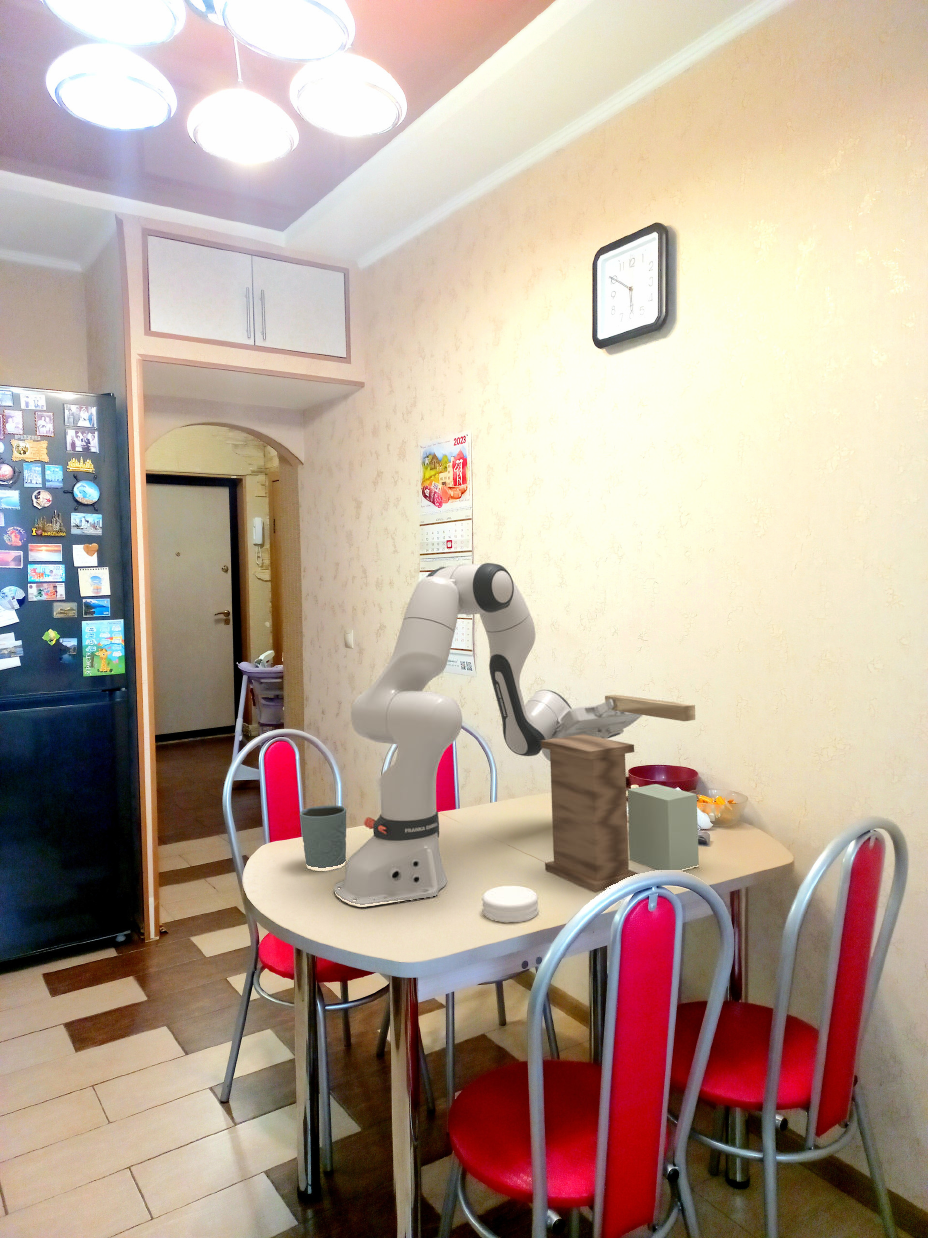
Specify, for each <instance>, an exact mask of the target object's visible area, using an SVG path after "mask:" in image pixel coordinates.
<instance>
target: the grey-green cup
mask: <svg viewBox="0 0 928 1238" xmlns="http://www.w3.org/2000/svg"><path fill="white" fill-rule="evenodd" d="M299 817H300V827H301V835H302V836H301V837H302V842H303V851H304V857H305V865H306V864H307V865H308V866H311V867H318V868H326V867H333V866H338V865H341V864H343V863H344V862H345V861H346V862H347V857H346V856H347V855H346V854H347V808H346V807H345V806H343V805H342V806H341V805H333V804H332V805H331V804H330V805H320V806H317V805H316V806H312V807H309V808H304V809H302V810H301V811H300V812H299Z"/></svg>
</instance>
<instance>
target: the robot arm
mask: <svg viewBox="0 0 928 1238" xmlns="http://www.w3.org/2000/svg"><path fill="white" fill-rule="evenodd" d="M478 614H479V617H480V620H481V623H482V626H483V628H484V630H485V633H486V636H487V640H488V642H487V643H488V645H489V647H488V648H489V664H488V667H489V668H488V669H489V675H490V679H491V684H492V688H493V690H494V691H493V692H494V695H495V698H496V699H495V700H496V702H497V706H498V709H499V713H500V718H501V722H502V734H503V739H504V742H505V744H506V746H507V747H508V749H509V750H510V752H513V753H514V754H516V755H518V756H523V757H534V756H537V755H539V754H540V753H541V752H542V755H543V756H544V758H545V759H546V760H548V761H549V762H550V750H548V749H544V748H541V740H548V739H555V738H562V737H569V736H576V735H588V736H593V737H598V738H603V739H608V740H609V739H610V738H613V737H617V736H619V735H621V734H623V733H624V729H626V728H628V727H630V726H631V725H632V724H634V723H635V722H636V721H638V720H639V719H640V718H641V717H643V715H640V714H633V713H627V712H620V711H614V710H610V709H614V708H615V707H617V703H616V700H615V699H611V700H608V701H606V702H605V701H604V702H602V703H599V704H591V705H586V706H583V705H582V706H575V707H572V706H571V705H570V703H569V702H568V701H567V700H566V699H565V698H564V697H563V696H562V695H561V694H559V693H558V692H556V691H553V690H549V689H540V690H538V691H536V692H535V694H533V695H532V696H531V697H530V698H529V700H528V701H527V702H526V703H525V701H524V697H523V695H522V693H523V692H522V691H521V686H520V685H521V684H520V680H521V673H522V671H523V667H524V665H525V663H526V660H527V659H528V656H529V654H530V653H531V651H532V649H533V647H534V644H535V641H536V626H535V622H534V620H533V616H532V614H531V612H530V610H529V607H528V605H527V602H526V601H525V598H524V596H523V595H522V593H521V591H520V589H519V588H518V586H517V585H516V583H515V582H514V580H513V578H512V576H511V574H510V573H509V571H508V569H506V567H504V566H503V565H501V564H499V563H494V562H492V563H490V562H485V563H461V564H460V563H459V564H454V565H450V566H447V567H446V566H442V567H439V568H436V569H434V570H432V571H430V572H429V573H428V574H427V575H426V576H425V577H424V578H422V579H421V580H419V581H418V582H417V584H416V586H415V587H414V590H413V592H412V594H411V597H410V598H409V601H408V603H407V606H406V608H405V612H404V615H403V618H402V622H401V626H400V628H399V629H400V630H399V632H398V636H397V640H396V643H395V646H394V649H393V652H392V655H391V656H390V659H389V660H388V663H387V665H386V667H385V668H384V669H383V671H382V672H381V673H380V675H379V677H378V678H377V679H376V681H375V682H373V684H372V685H370V687H369V688H368V689H366V690H364V692H361V693H360V694H359V695H358V696H357V697H356V698H355V700H354V702H353V704H352V706H351V710H350V722H351V725H352V727H353V729H354V731H355V732H356V733H357V734H358V735H359V736H361V737H363V738H365V739H368V740H370V741H372V742H375V743H378V744H379V743H381V744H389V745H391V744H392V745H397V753H396V757H395V761H394V763H393V764H392V765H390V766H389V767H388V768H386V769H385V770H384V771H383V773H381V776H380V779H379V789H380V790H379V791H380V792H379V793H380V795H379V796H380V815H379V816H378V818H376V819H374V818H372V817H370V816H368V817H366V818H365V819H364V820H363V824H364V825H363V826H365V828H368V829H369V830H373V835H372V836H371V837H370V838H369V839H367V841H366V842H365V843H364V844H363V845H361V846H360V847H359V848H358V849H357V851H355V852H354V853H353V854H352V855H351V856H350V857H349V858H348V859H347V861H346V865H345V871H344V872H345V873H344V874H345V875H344V880H342V881H339V882H337V883H335V885H334V886H333V892H334V891H335V892H336V894H337V895H338V896H340V897H341V898H342V899H344V900H347V901H349V902H351V903H355V904H360V905H365V904H373V903H380V902H389V901H398V900H410V899H417V898H424V899H427V898H426V897H430V898H434V897H433V896H435V897H436V895H437V896H438V894H439V891H440V890H441V889H442V888H444V887H445V886H446V885H447V882H448V879H447V876H446V873H445V870H444V866H443V862H442V857H441V851H440V844H439V838H440V821H439V819H440V818H439V811H437V792H436V791H437V786H436V785H437V773H438V767H439V763H440V762H441V759H442V756H443V755H444V752H445V751H446V750H447V749H448V748H449V747H450V745H452V744H453V743H454V742H455V741H456V740H457V738H458V737H459V735H460V733H461V730H462V725H463V714H462V710H461V708H460V705H459V703H458V702H457V700H455V699H454V698H452V697H450V696H447V695H444V694H442V693H438V692H435V691H426V690H425V691H424V689H425V688H426V686H427V685H428V684H429V683H430V682H431V681H432V680H433V679H435V678H436V677H438V676H440V674H442V673H443V672H444V670H445V668H446V667H447V665H448V662H449V656H450V652H451V649H452V644H453V640H454V637H455V631H456V627H457V622H458V616H459V615H467V616H471V615H478ZM338 888H340V889H338ZM353 900H356V901H353ZM417 900H418V899H417Z"/></svg>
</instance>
